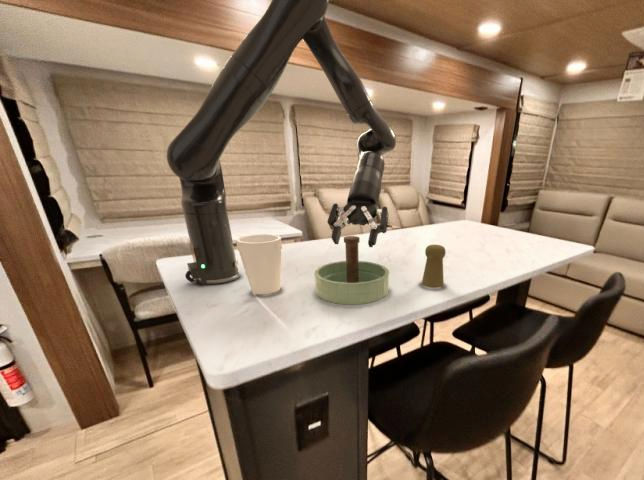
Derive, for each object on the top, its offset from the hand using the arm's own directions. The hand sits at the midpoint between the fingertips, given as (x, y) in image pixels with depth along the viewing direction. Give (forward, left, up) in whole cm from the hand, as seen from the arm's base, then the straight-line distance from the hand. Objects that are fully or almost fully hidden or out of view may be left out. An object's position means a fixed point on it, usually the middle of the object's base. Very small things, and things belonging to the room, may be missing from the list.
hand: (352, 244), depth 73 cm
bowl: (-1, 0, -12) cm, 12 cm away
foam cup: (-17, +12, -12) cm, 24 cm away
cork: (+20, -8, -12) cm, 25 cm away
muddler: (0, 0, -11) cm, 11 cm away
